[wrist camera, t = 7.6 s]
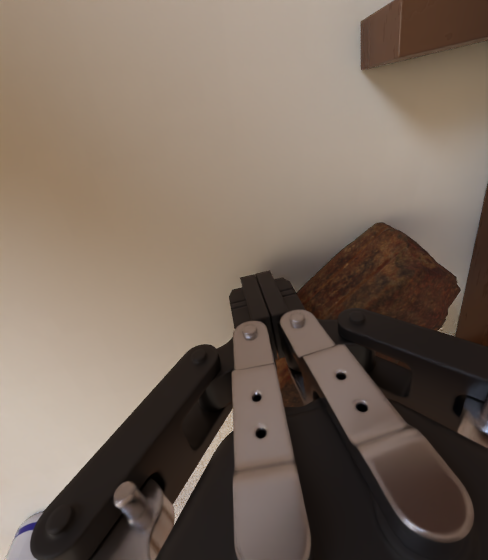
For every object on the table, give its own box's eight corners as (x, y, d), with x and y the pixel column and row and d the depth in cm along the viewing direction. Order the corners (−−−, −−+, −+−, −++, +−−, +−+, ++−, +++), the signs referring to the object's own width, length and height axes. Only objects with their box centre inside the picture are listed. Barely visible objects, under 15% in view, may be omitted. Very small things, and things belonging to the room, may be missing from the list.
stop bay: (360, 380, 20) (380, 412, 18) (360, 21, 11) (401, -6, 8) (470, 353, 20) (503, 380, 18) (568, -28, 11) (662, -67, 8)
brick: (278, 375, 19) (300, 445, 15) (232, 348, 17) (243, 418, 13) (412, 259, 16) (485, 306, 12) (372, 213, 14) (441, 249, 10)
